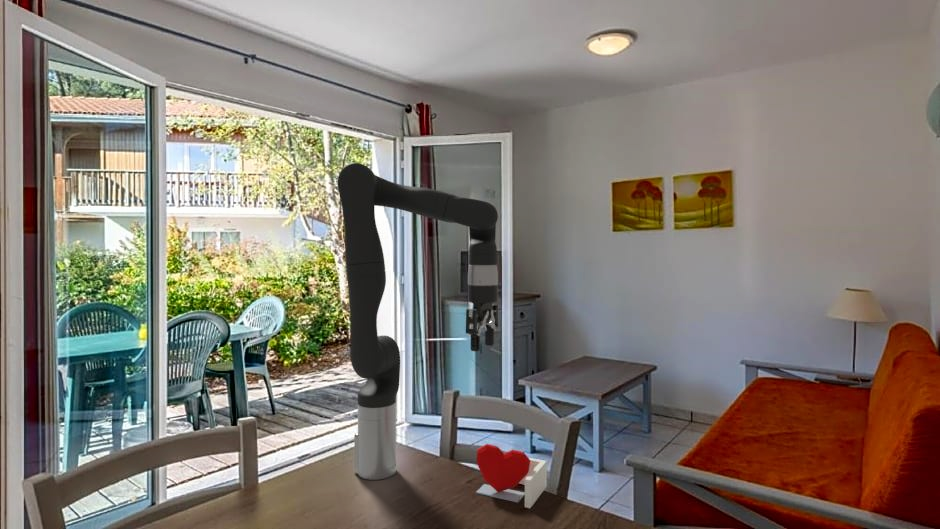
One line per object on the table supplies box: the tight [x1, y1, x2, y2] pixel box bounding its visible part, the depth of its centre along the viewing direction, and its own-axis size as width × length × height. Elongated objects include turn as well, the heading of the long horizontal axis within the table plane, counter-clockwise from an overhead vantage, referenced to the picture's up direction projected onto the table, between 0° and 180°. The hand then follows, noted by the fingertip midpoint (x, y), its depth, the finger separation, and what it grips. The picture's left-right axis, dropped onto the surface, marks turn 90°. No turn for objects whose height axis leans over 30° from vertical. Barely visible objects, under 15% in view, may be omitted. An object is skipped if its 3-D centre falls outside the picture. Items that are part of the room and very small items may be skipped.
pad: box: [475, 483, 525, 503], centre depth 117 cm, size 10×4×1 cm, turn 64°
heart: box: [475, 443, 530, 492], centre depth 117 cm, size 12×4×10 cm, turn 78°
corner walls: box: [518, 457, 548, 509], centre depth 118 cm, size 12×11×6 cm
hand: (482, 348), depth 130 cm, fingers open, 8 cm apart
